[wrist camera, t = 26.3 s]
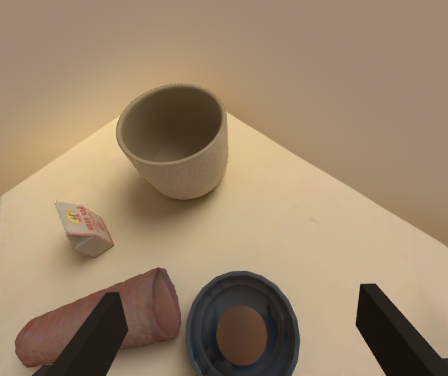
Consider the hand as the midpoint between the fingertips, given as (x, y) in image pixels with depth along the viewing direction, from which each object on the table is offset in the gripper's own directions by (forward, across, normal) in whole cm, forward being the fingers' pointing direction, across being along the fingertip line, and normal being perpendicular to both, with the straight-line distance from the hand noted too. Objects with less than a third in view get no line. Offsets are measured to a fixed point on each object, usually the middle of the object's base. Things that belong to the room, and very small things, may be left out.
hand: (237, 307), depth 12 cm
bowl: (+16, 0, -20) cm, 26 cm away
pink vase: (+18, -20, -18) cm, 33 cm away
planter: (+36, -9, 0) cm, 37 cm away
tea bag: (+27, -26, -9) cm, 39 cm away
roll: (+16, 0, -19) cm, 25 cm away
